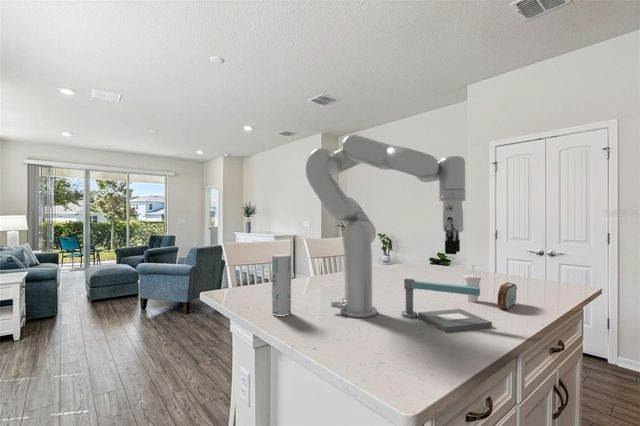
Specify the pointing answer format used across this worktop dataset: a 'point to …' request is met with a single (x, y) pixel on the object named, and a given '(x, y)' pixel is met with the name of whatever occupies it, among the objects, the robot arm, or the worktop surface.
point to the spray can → (281, 284)
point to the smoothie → (472, 284)
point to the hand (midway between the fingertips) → (452, 252)
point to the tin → (507, 295)
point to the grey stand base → (446, 317)
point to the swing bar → (441, 287)
